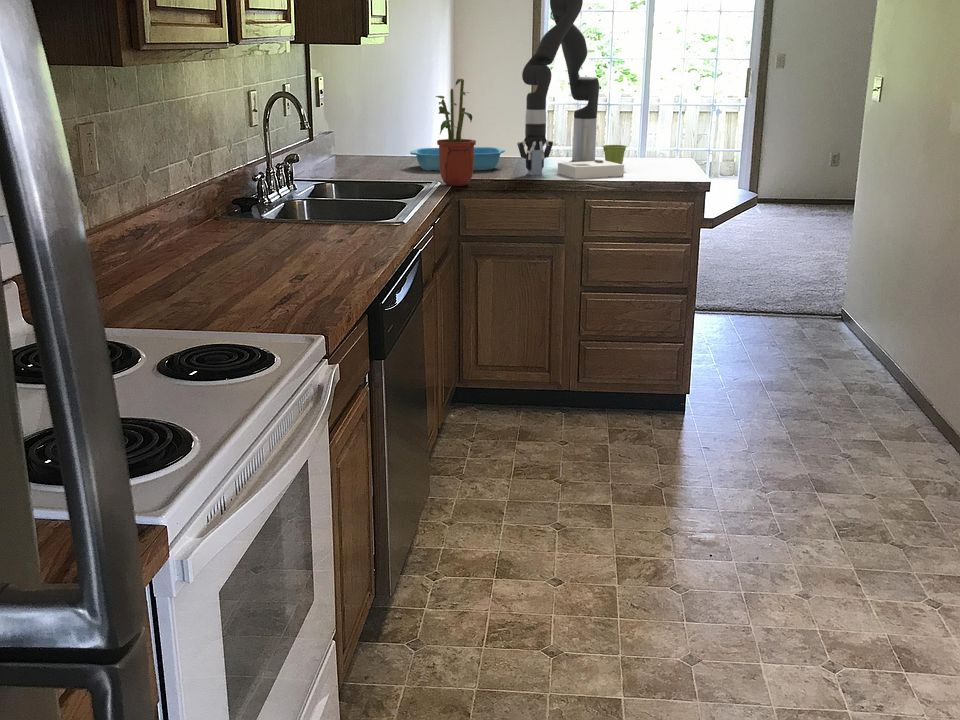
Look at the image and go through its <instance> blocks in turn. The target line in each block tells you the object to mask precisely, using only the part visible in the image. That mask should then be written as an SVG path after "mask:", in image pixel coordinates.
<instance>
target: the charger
mask: <svg viewBox="0 0 960 720" xmlns="http://www.w3.org/2000/svg"><path fill="white" fill-rule="evenodd" d="M529 151H530V150H529ZM527 175H530V176H542V175H543V168H542V150H532V155H531V170H527Z"/></svg>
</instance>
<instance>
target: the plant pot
mask: <svg viewBox="0 0 960 720" xmlns="http://www.w3.org/2000/svg"><path fill="white" fill-rule="evenodd" d="M601 147H602V148H603V149H602V150H603V153H604V161H610V162H614V163H618V164H622V165H623V162H624V156H625V152H626V149H627V148H628V146H627V145H623V144H606V145H602V146H601Z"/></svg>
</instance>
